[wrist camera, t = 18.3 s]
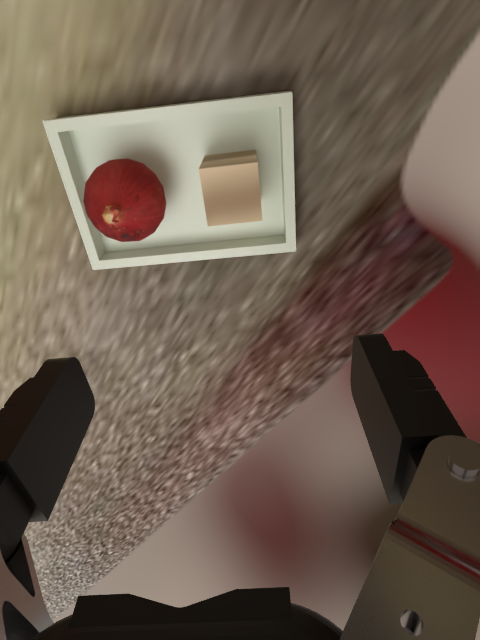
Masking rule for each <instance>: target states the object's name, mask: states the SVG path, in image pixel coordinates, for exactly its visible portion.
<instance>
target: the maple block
mask: <svg viewBox="0 0 480 640" xmlns="http://www.w3.org/2000/svg"><path fill="white" fill-rule="evenodd" d="M199 174H200V181H201V187H202V193H203V200H204V206H205V212H206V218H207V225H208V226H217V225H227V224H236V223H246V222H255V221H262V209H261V196H260V183H259V170H258V160H257V155H256V150H249V151H240V152H231V153H223V154H214V155H206V156H204V158H203V161H202V163H201V165H200V167H199Z"/></svg>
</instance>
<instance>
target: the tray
mask: <svg viewBox="0 0 480 640" xmlns="http://www.w3.org/2000/svg"><path fill="white" fill-rule="evenodd" d="M43 124H44V127H45V130H46V133H47V136H48V139H49V142H50V145H51V148H52V151H53V154H54V157H55V160H56V163H57V166H58V168H59V171H60V174H61V177H62V180H63V183H64V186H65V189H66V192H67V195H68V198H69V201H70V204H71V207H72V210H73V213H74V216H75V219H76V221H77V224H78V227H79V230H80V233H81V236H82V239H83V242H84V245H85V248H86V251H87V254H88V257H89V260H90V263H91V266H92V269H93V270H99V269H110V268H120V267H131V266H142V265H153V264H164V263H175V262H185V261H196V260H207V259H218V258H229V257H240V256H250V255H261V254H272V253H283V252H294V251H296V228H295V185H294V141H293V97H292V92H291V91H281V92H272V93H264V94H255V95H247V96H238V97H229V98H221V99H212V100H204V101H195V102H187V103H178V104H169V105H161V106H152V107H144V108H135V109H127V110H118V111H109V112H101V113H92V114H84V115H75V116H67V117H58V118H53V119H49V120H45V121H43ZM249 150H256V155H257V160H258V170H259V183H260V196H261V209H262V221H255V222H246V223H236V224H227V225H217V226H208V225H207V218H206V212H205V206H204V200H203V193H202V187H201V181H200V174H199V167H200V165H201V163H202V161H203V158H204V156H206V155H214V154H223V153H231V152H240V151H249ZM127 158H128V159H131V160H134V161H138V162H141V163H143V164H145V165H146V166H147V167H148V168H149V169H151V170H152V171H153V172H154V173H155V174H156V175H157V177H158V179H159V180H160V182H161V184H162V185H163V188H164V193H165V198H166V209H165V215H164V219H163V220H162V222H161V223H160V225H159V227H158V228H157V230H156V231H155V232H154V233H153V234H151V235H150V236H148V237H146V238H144V239H143V240H141V241H132V242H120V241H117V240H114V239H111V238H108V237H106V236H105V235H104V234H102V233H101V232H100V231H99V230H97V229H96V228H95V227H94V225H93V224H92V222H91V221H90V219H89V218H88V216H87V213H86V210H85V206H84V202H83V199H84V190H85V183H86V181H87V180H88V178H89V177H90V175H91V174H92V172H93V171H94V170H95V168H96V167H98V166H100V165H102V164H103V163H105V162H107V161H109V160H115V159H127Z"/></svg>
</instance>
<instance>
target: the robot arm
mask: <svg viewBox="0 0 480 640" xmlns="http://www.w3.org/2000/svg"><path fill="white" fill-rule="evenodd" d="M351 390H352V395H353V399H354V402H355V405H356V408H357V411H358V414H359V417H360V420H361V423H362V425H363V428H364V431H365V434H366V437H367V440H368V443H369V446H370V449H371V452H372V455H373V458H374V460H375V463H376V466H377V469H378V472H379V475H380V478H381V481H382V484H383V487H384V490H385V492H386V495H387V498H388V501H389V504H397V503H398V504H400V503H403V504H402V506H401V509H400V511H399V513H398V516H397V518H396V520H395V521H392V522H391V524H390V526H389V527H388V530H387V532H386V534H385V536H384V538H383V541H382V543H381V545H380V547H379V550H378V552H377V555H376V557H375V559H374V561H373V564H372V566H371V569H370V570H369V573H368V575H367V577H366V580H365V582H364V584H363V587H362V589H361V591H360V593H359V596H358V598H357V600H356V603H355V605H354V607H353V610H352V612H351V614H350V617H349V619H348V621H347V623H346V626H345V628H344V630H343V631H342V630H341V629H340V628H338V627H337V626H336V625H335V624H333V623H332V622H331V621H329V620H328V619H326V618H325V617H323V616H321V615H320V614H318V613H317V612H314V611H312V610H310V609H308V608H305V607H303V606H300V605H296V604H293V603H291V602H290V591H289V587H278V588H256V589H255V588H254V589H236V590H233V591H230V592H227V593H224V594H221V595H218V596H215V597H213V598H209V599H207V600H204V601H201V602H198V603H195V604H192V605H189V606H187V607H182V608H177V607H173V606H169V605H165V604H162V603H159V602H156V601H152V600H149V599H145V598H142V597H138V596H135V595H131V594H111V595H89V596H78V599H77V602H76V605H75V608H74V612H73V615H70V616H68V617H66V618H64V619H62V620H60V621H57V622H56V623H53V621H52V619H51V617H50V615H49V613H48V611H47V609H46V606H45V604H44V601H43V597H42V593H41V590H40V586H39V582H38V578H37V574H36V571H35V567H34V563H33V559H32V555H31V552H30V548H29V544H28V540H27V538H26V536H25V535H24V531H25V529H26V527H27V524H28V522H36V521H48V519H49V517H50V514H51V512H52V510H53V507H54V505H55V503H56V501H57V498H58V496H59V494H60V491H61V489H62V487H63V484H64V482H65V480H66V477H67V475H68V473H69V471H70V468H71V466H72V464H73V461H74V459H75V457H76V454H77V452H78V450H79V448H80V445H81V443H82V441H83V438H84V436H85V434H86V431H87V429H88V427H89V424H90V422H91V420H92V418H93V415H94V410H95V400H94V396H93V393H92V391H91V388H90V386H89V383H88V381H87V379H86V376H85V374H84V372H83V369H82V367H81V364H80V362H79V361H78V359H77V358H75V357H70V358H57V359H48V360H46V361H45V362H44V363H43V365H42V366H41V368H40V369H39V371H38V372H37V374H36V375H35V377H34V378H29V379H28V380H27V381H26V382H25V383H23V384H22V385H21V386H20V387H19V388H17V389H16V390H15V391H14V392H13V394H12V395H11V396H10V398H9V399H8V401H7V402H6V403H5V405H4V408H2V409H1V410H0V640H475V637H476V632H477V627H478V623H479V618H480V444H479V443H477V442H476V441H473V440H471V439H468V438H467V437H466V436H465V434H464V433H463V431H462V429H461V428H460V426H459V425H458V423H457V421H456V420H455V418H454V417H453V415H452V413H451V412H450V410H449V408H448V407H447V405H446V404H445V402H444V400H443V399H442V397H441V395H440V394H439V392H438V391H436V387H435V386H434V384H433V382H432V381H431V379H429V378H428V374H427V373H426V371H425V370H424V368H423V366H422V365H421V363H420V362H419V361H418V360H417V359H415V358H414V357H413V356H411V355H410V354H409V353H407V352H406V351H405V350H402V351H401V350H400V351H393V350H392V348H391V346H390V345H389V343H388V341H387V339H386V337H385V336H384V335H383V334H371V335H358V336H355V337H354V340H353V351H352V364H351Z"/></svg>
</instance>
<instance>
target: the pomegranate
mask: <svg viewBox="0 0 480 640" xmlns="http://www.w3.org/2000/svg"><path fill="white" fill-rule="evenodd" d="M83 202H84V206H85V210H86V213H87V216H88V218H89V219H90V221H91V222H92V224H93V225H94V227H95V228H96V229H97V230H99V231H100V232H101V233H102V234H104V235H105V236H106V237H108V238H111V239H114V240H117V241H120V242H132V241H141V240H143V239H144V238H146V237H148V236H150V235H151V234H153V233H154V232H155V231H156V230H157V228H158V227H159V225H160V223H161V222H162V220H163V219H164V215H165V209H166V198H165V193H164V188H163V185H162V184H161V182H160V180H159V179H158V177H157V175H156V174H155V173H154V172H153V171H152V170H151V169H149V168H148V167H147V166H146V165H145V164H143V163H141V162H138V161H134V160H131V159H128V158H127V159H115V160H109V161H107V162H105V163H103V164H102V165H100V166H98V167H96V168H95V170H94V171H93V172H92V174H91V175H90V177H89V178H88V180H87V181H86V183H85V190H84V199H83Z"/></svg>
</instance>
